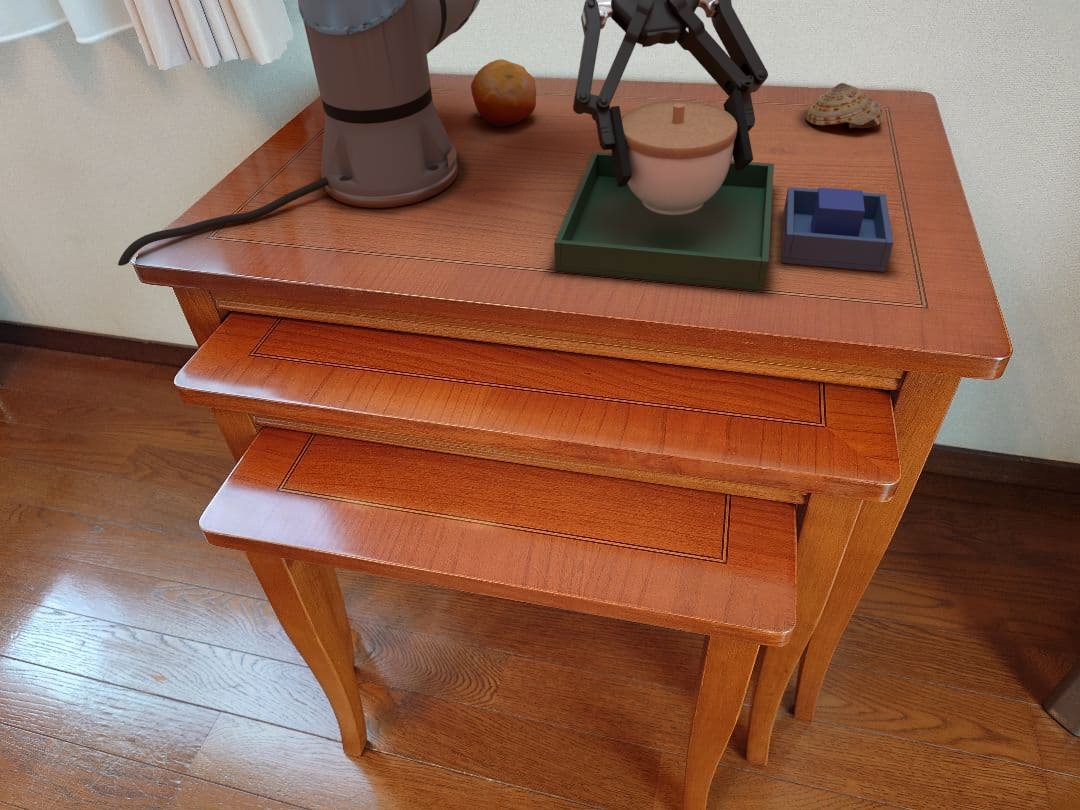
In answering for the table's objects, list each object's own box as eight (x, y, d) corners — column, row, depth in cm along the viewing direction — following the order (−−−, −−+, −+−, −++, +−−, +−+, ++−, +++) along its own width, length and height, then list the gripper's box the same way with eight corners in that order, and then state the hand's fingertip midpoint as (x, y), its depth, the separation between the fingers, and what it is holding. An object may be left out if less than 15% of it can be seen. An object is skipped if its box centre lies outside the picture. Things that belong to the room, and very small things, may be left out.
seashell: (876, 124, 91) (819, 84, 93) (847, 162, 96) (794, 124, 97) (900, 100, 96) (846, 62, 97) (872, 137, 101) (820, 101, 102)
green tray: (555, 271, 76) (554, 242, 74) (592, 178, 89) (592, 151, 87) (763, 291, 72) (768, 261, 70) (769, 190, 86) (774, 163, 84)
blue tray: (781, 263, 75) (786, 233, 73) (783, 214, 82) (788, 186, 80) (885, 272, 73) (893, 242, 71) (878, 222, 80) (885, 193, 78)
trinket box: (726, 230, 74) (738, 132, 67) (611, 224, 76) (611, 127, 69) (730, 177, 81) (741, 84, 75) (625, 172, 83) (627, 81, 77)
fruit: (504, 87, 106) (519, 41, 99) (535, 133, 105) (553, 89, 98) (452, 104, 103) (464, 57, 96) (484, 151, 102) (498, 107, 94)
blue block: (811, 245, 76) (819, 207, 73) (810, 224, 79) (818, 187, 76) (855, 249, 75) (865, 210, 73) (853, 227, 78) (862, 190, 75)
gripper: (748, -44, 80) (788, 171, 79) (518, -19, 77) (556, 203, 76) (777, -96, 72) (822, 141, 71) (524, -70, 70) (566, 175, 69)
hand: (685, 173), depth 74 cm, fingers closed on trinket box, 11 cm apart
